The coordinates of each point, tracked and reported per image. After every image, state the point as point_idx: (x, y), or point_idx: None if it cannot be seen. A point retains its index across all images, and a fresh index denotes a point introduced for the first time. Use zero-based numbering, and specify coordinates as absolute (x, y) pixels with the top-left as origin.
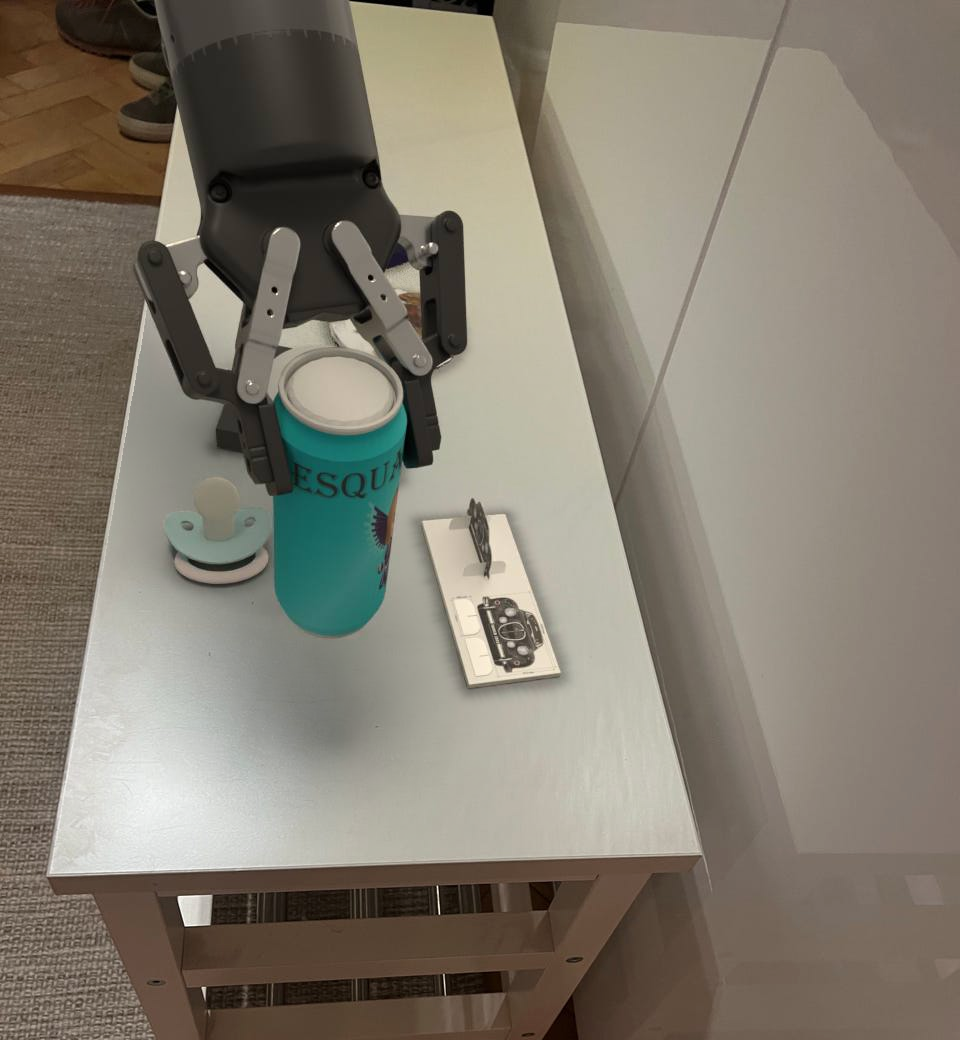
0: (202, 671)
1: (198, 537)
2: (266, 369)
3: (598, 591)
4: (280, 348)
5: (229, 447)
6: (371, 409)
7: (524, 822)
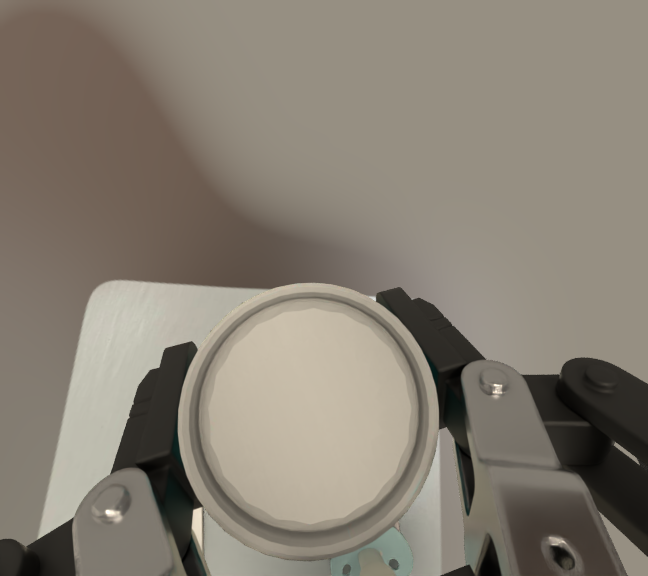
0: None
1: (384, 551)
2: (481, 419)
3: (69, 496)
4: None
5: None
6: (257, 341)
7: (190, 302)
